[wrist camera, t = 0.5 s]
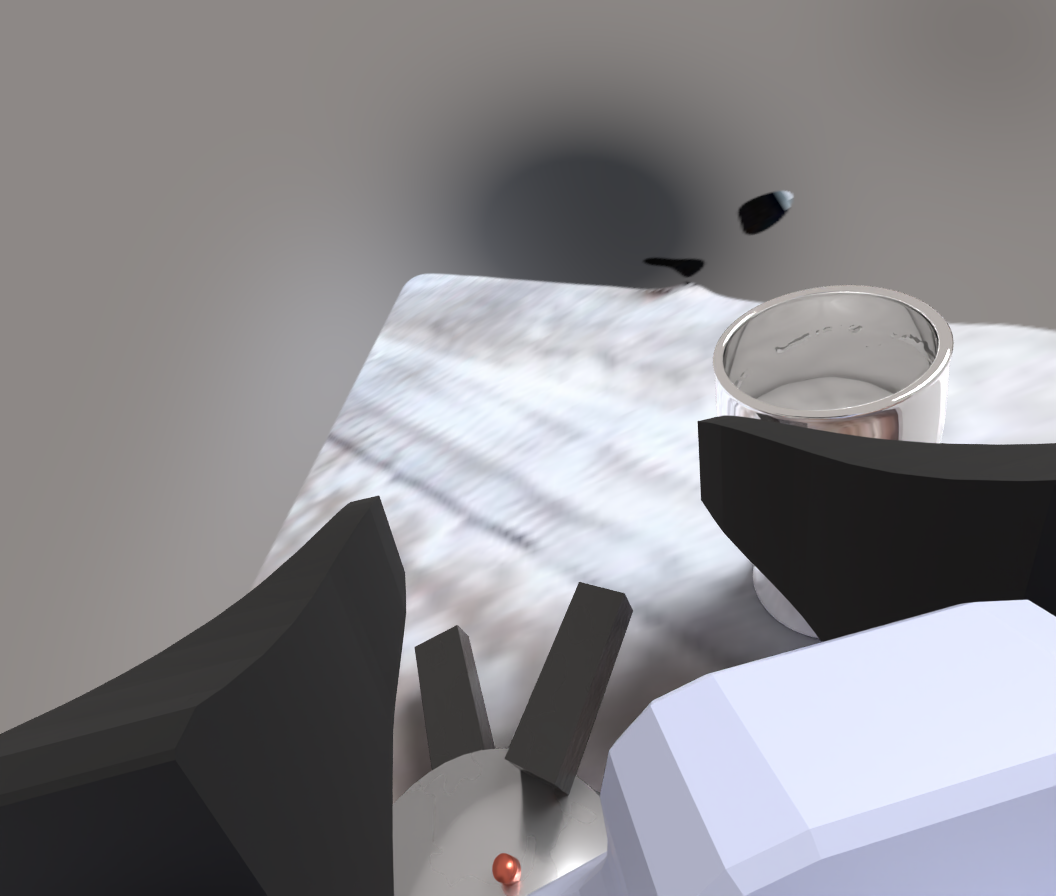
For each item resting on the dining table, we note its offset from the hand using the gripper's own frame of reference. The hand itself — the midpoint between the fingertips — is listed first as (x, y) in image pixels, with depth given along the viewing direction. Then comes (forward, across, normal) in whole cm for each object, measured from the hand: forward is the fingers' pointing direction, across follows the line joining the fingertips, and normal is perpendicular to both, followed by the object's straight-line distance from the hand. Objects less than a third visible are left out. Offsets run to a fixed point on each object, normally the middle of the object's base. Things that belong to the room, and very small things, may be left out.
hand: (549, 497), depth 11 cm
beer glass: (+9, -14, +14) cm, 21 cm away
